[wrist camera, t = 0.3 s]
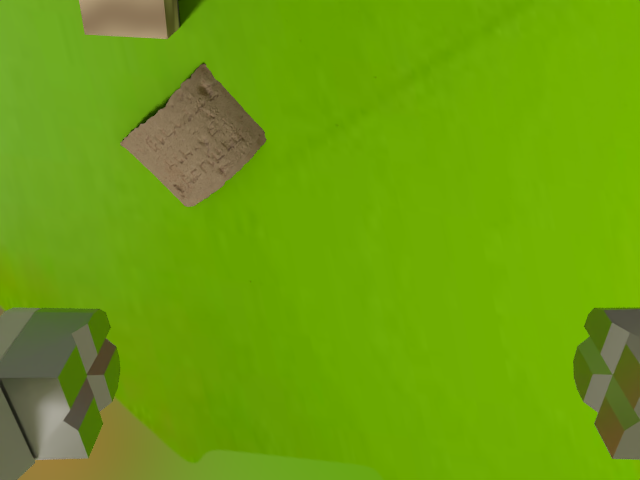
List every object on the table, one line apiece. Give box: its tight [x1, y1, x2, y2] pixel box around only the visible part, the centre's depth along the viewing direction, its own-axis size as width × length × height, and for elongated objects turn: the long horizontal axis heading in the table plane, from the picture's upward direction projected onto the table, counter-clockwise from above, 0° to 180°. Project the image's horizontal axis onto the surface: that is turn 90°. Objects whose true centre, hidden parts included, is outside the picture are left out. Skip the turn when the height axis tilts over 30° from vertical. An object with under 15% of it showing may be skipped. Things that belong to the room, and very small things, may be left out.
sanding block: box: [79, 0, 180, 39], centre depth 48 cm, size 4×7×5 cm, turn 87°
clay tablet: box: [120, 64, 266, 207], centre depth 56 cm, size 14×10×3 cm
